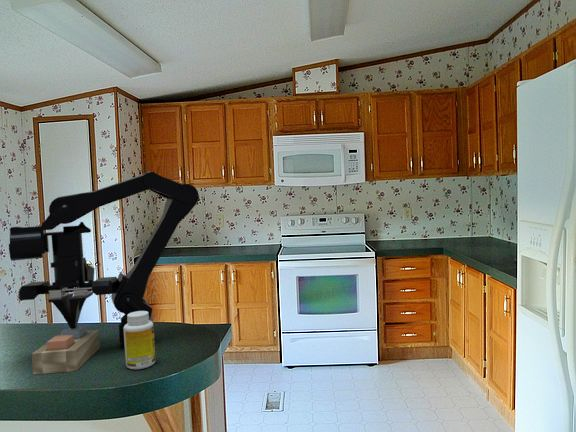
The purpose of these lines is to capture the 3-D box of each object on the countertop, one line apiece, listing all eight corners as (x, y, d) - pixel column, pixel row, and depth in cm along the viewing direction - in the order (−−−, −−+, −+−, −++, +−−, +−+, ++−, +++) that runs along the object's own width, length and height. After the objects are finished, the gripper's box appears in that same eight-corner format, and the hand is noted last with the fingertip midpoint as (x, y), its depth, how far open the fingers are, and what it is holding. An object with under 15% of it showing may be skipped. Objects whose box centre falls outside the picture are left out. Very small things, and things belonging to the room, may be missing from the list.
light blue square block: (86, 338, 94) (85, 325, 94) (79, 343, 91) (78, 330, 91) (69, 339, 94) (68, 326, 94) (61, 345, 90) (61, 331, 90)
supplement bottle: (159, 365, 84) (156, 313, 83) (129, 373, 81) (125, 319, 80) (151, 357, 89) (148, 308, 88) (123, 364, 86) (119, 313, 85)
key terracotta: (74, 348, 88) (73, 334, 88) (67, 354, 84) (65, 340, 84) (56, 349, 88) (54, 336, 87) (47, 356, 84) (46, 342, 84)
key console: (99, 347, 96) (98, 329, 96) (76, 370, 83) (75, 350, 83) (62, 350, 95) (61, 332, 95) (33, 374, 82) (31, 353, 82)
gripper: (124, 248, 100) (129, 314, 101) (40, 253, 99) (45, 320, 99) (108, 254, 89) (114, 329, 90) (14, 260, 88) (20, 336, 88)
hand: (73, 328), depth 92 cm, fingers closed
